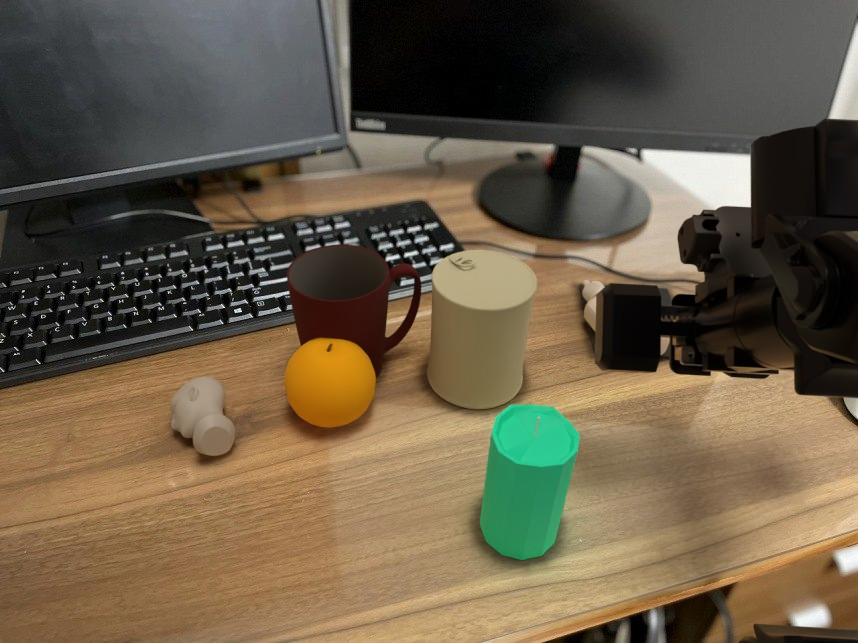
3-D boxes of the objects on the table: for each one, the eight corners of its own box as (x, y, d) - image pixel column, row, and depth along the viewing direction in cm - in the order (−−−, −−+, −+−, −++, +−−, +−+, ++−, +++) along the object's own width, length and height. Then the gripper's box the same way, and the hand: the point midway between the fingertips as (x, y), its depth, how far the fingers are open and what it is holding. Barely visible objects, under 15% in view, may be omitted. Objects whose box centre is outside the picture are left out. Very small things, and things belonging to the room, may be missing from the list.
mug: (405, 324, 70) (406, 234, 64) (432, 380, 64) (436, 285, 57) (291, 345, 67) (279, 252, 60) (307, 406, 61) (296, 309, 54)
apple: (271, 406, 61) (260, 343, 56) (340, 367, 65) (335, 305, 61) (324, 456, 56) (317, 392, 52) (394, 411, 61) (394, 348, 56)
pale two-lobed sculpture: (179, 415, 61) (230, 388, 62) (191, 479, 55) (247, 449, 56) (153, 385, 58) (208, 358, 59) (163, 450, 52) (223, 419, 53)
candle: (562, 561, 49) (592, 454, 42) (481, 558, 49) (496, 451, 42) (551, 494, 54) (576, 387, 47) (477, 492, 54) (490, 384, 47)
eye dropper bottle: (626, 377, 67) (568, 308, 76) (675, 348, 67) (611, 282, 76) (617, 352, 64) (558, 282, 73) (668, 321, 64) (602, 256, 73)
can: (474, 333, 70) (483, 233, 62) (542, 378, 65) (560, 276, 57) (407, 372, 65) (408, 269, 57) (475, 425, 60) (486, 319, 52)
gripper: (931, 200, 42) (797, 256, 57) (629, 185, 42) (577, 245, 57) (938, 380, 40) (798, 387, 56) (626, 363, 40) (573, 375, 56)
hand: (686, 344), depth 56 cm, fingers closed
